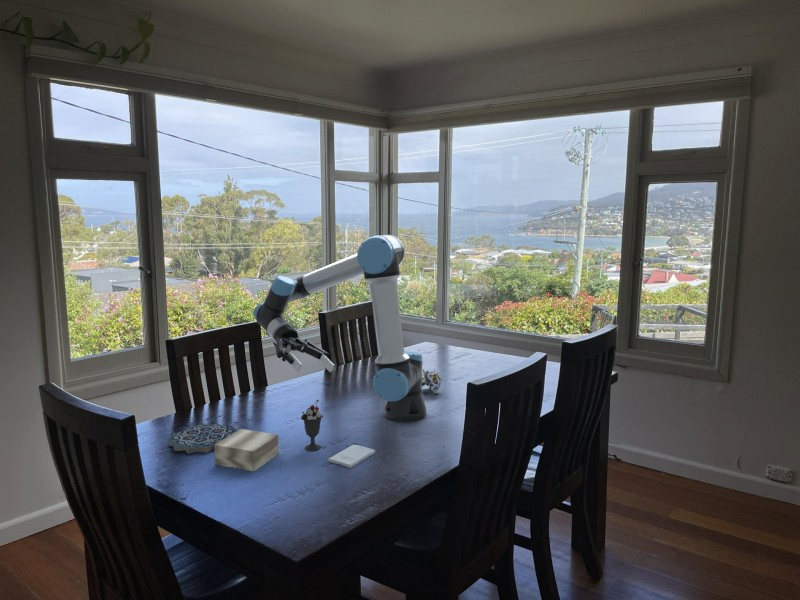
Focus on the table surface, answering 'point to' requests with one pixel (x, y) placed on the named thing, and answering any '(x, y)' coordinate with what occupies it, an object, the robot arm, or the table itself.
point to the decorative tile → (199, 437)
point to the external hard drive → (351, 456)
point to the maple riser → (246, 449)
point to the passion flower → (431, 381)
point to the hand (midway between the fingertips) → (316, 368)
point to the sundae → (312, 425)
